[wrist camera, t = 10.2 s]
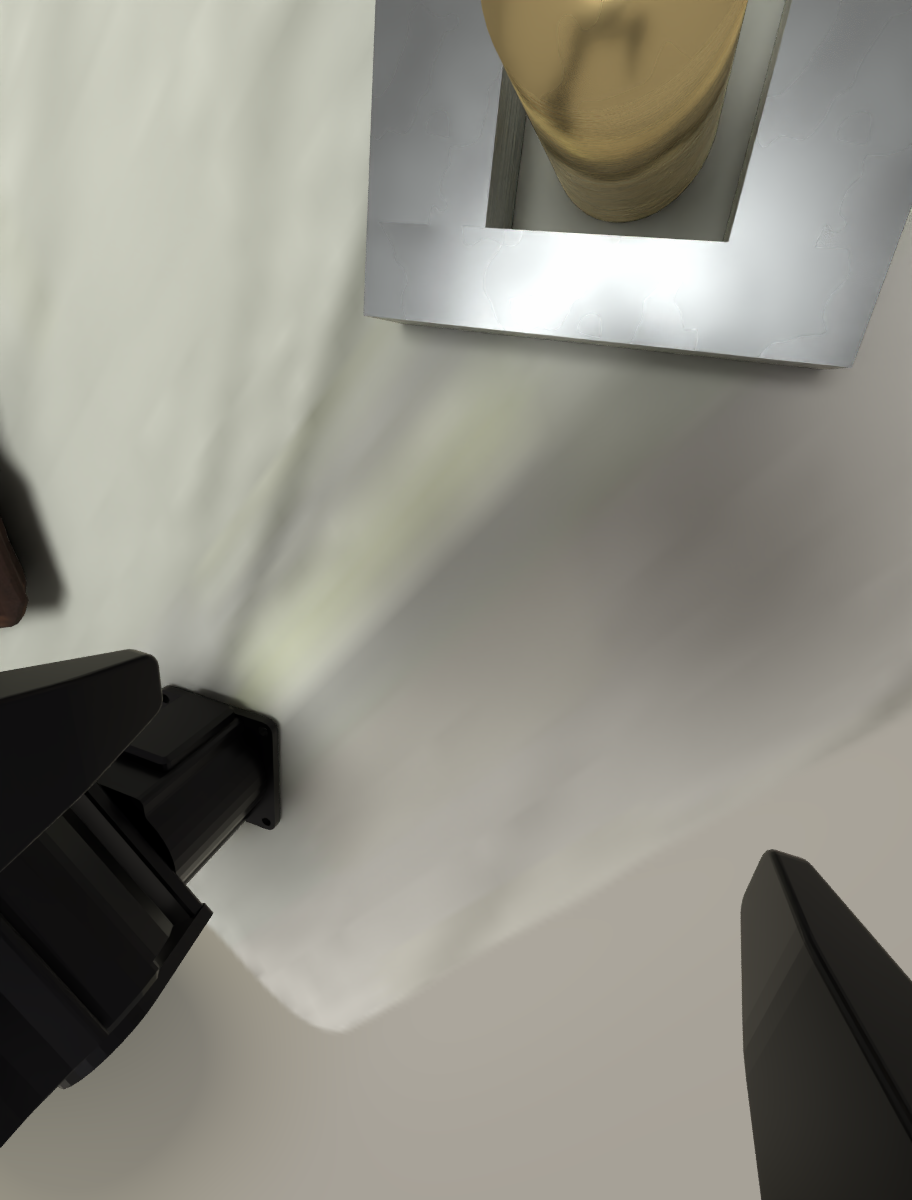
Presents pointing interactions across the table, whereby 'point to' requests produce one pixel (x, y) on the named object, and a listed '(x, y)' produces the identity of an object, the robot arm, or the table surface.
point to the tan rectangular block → (620, 91)
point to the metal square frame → (640, 264)
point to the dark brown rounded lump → (11, 583)
